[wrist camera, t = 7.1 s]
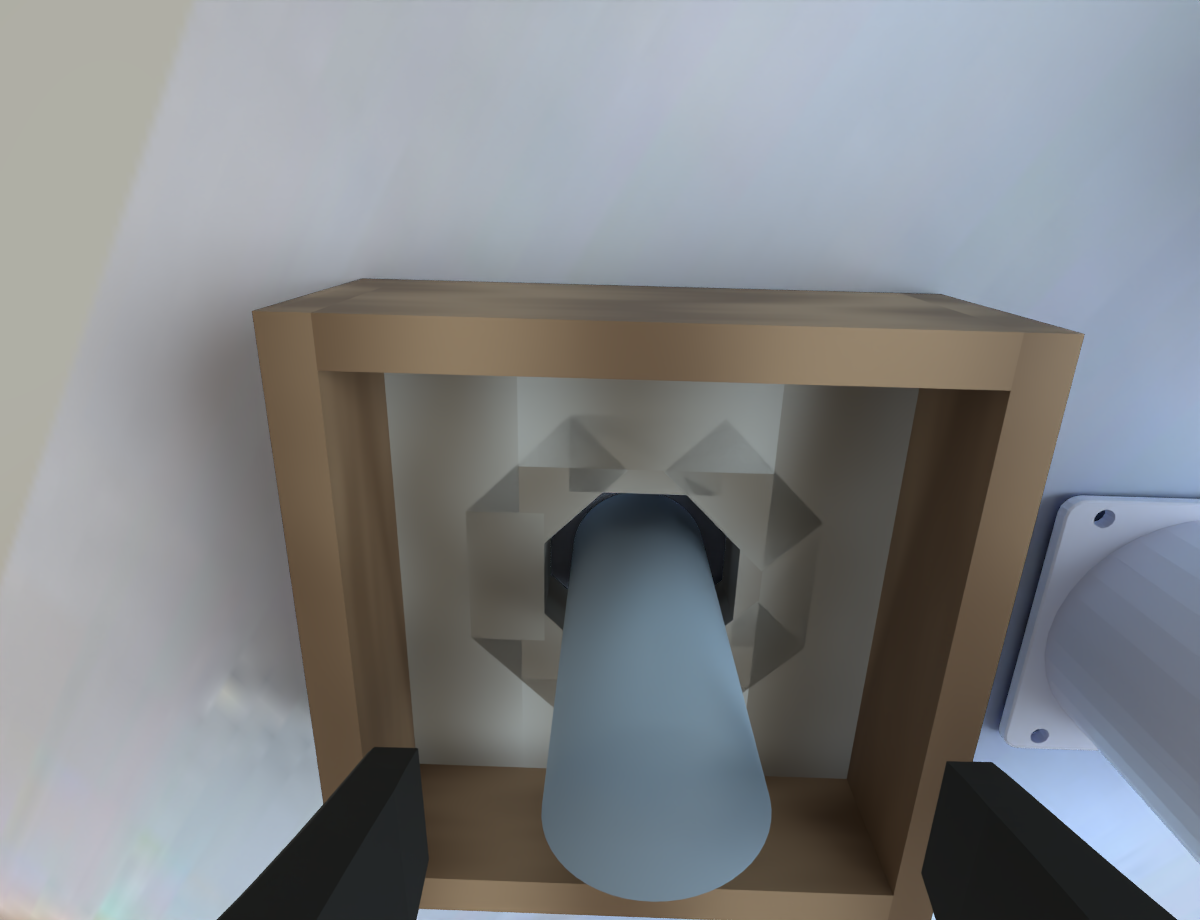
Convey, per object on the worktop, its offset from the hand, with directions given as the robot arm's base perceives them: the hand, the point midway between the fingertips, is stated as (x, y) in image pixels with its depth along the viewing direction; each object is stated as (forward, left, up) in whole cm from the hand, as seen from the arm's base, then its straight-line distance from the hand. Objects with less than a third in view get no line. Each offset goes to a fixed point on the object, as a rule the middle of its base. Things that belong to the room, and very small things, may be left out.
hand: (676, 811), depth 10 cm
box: (0, +1, -10) cm, 10 cm away
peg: (0, +1, -10) cm, 10 cm away
